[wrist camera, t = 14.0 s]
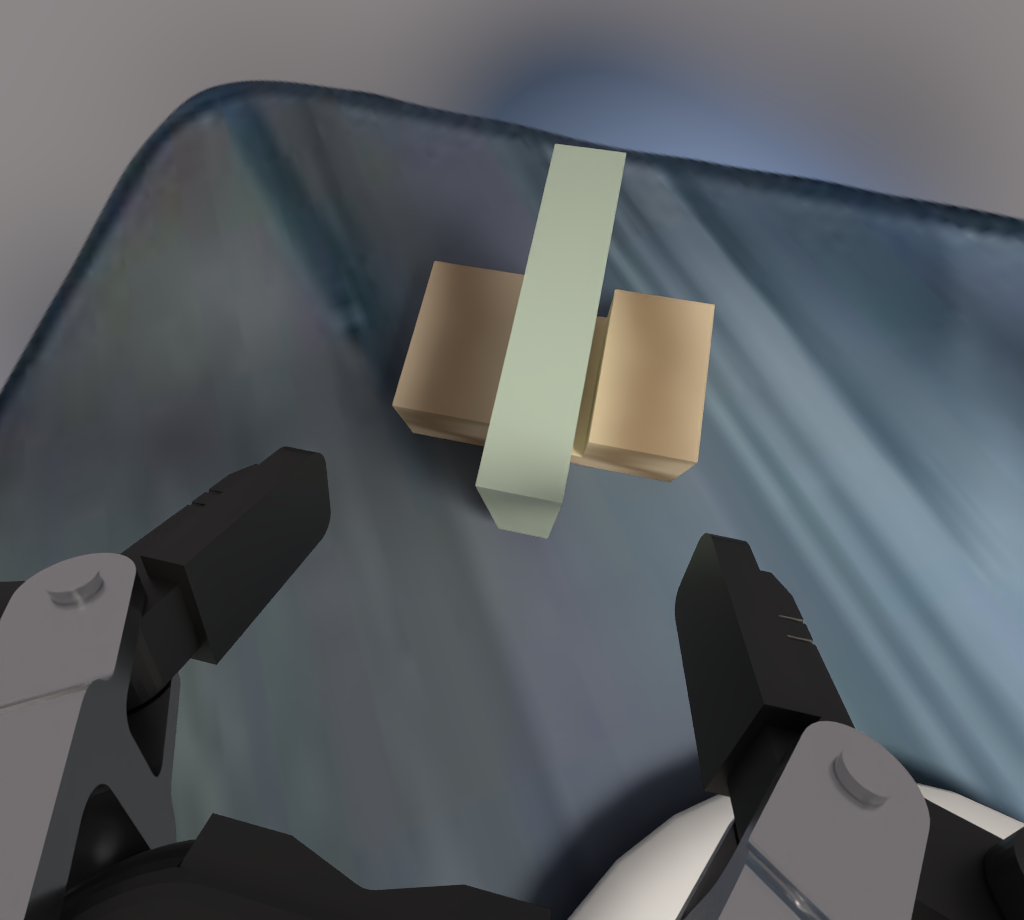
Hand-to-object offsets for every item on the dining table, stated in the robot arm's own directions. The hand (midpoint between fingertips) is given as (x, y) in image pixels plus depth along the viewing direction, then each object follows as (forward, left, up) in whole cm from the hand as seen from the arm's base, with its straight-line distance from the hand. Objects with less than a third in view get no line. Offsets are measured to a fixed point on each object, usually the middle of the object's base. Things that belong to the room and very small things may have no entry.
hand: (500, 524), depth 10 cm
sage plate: (0, -7, -12) cm, 14 cm away
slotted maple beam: (0, -9, -14) cm, 17 cm away
